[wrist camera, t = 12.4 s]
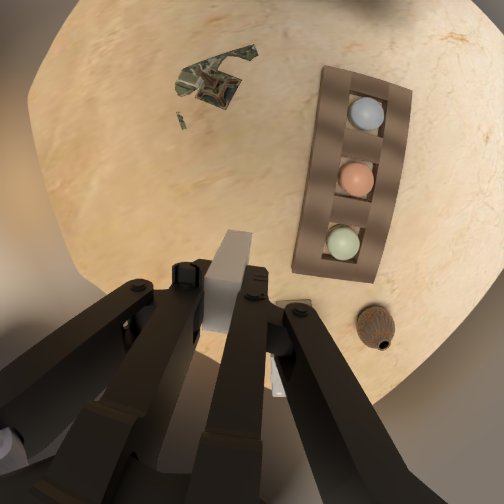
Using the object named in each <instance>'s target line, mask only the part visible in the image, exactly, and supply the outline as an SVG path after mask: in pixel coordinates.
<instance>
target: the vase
mask: <svg viewBox="0 0 504 504" xmlns="http://www.w3.org/2000/svg"><path fill="white" fill-rule="evenodd" d="M357 332H358V335H359V338H360V339H361V341H362V342H363V343H364V344H365V345H366V346H368V347H370V348H375V349H378V350H381V351H383V350H386V349H387V348H389V346H390V344H391V340H392V338H393V336H394V333H395V324H394V321H393V318H392V316H391V315H390V314H389V312H388V311H386V310H385V309H383V308H381V307H370V308H368V309H366V310H364V311H363V312H362V313H361V315H360V316H359V318H358V321H357Z"/></svg>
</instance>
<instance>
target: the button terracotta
mask: <svg viewBox="0 0 504 504" xmlns="http://www.w3.org/2000/svg"><path fill="white" fill-rule="evenodd" d="M338 181H339V184H340V186H341V187H342V189H344V190H345V191H346V192H348V193H349V194H351V195H353V196H357V197H360V196H364V195H366V194H367V193H369V192H370V190H371V189H372V187H373V184H374V177H373V174H372V172H371V170H370V169H369V168H368V167H367V166H365V165H363V164H359V163H356V162H349V163H347V164H345V165H343V166H342V167H341V169H340V171H339V173H338Z"/></svg>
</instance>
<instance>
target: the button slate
mask: <svg viewBox="0 0 504 504" xmlns="http://www.w3.org/2000/svg"><path fill="white" fill-rule="evenodd" d="M348 118H349V121H350V123H351V124H352V125H353V126H354V127H355V128H357V129H359V130H372V129H376V128H378V127H379V126H380V125H381V124H382V122H383V120H384V111H383V109H382V107H381V105H380V104H379V103H378V102H377V101H376V100H374V99H372V98H368V97H365V98H361V99H359V100H357V101H355V102H353V103H352V104H351V105H350V106H349V108H348Z"/></svg>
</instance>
